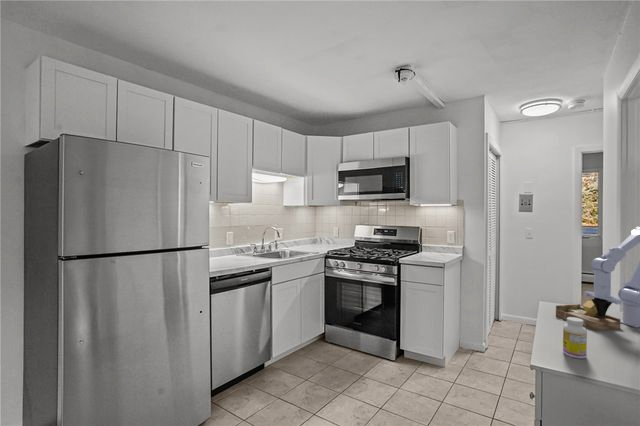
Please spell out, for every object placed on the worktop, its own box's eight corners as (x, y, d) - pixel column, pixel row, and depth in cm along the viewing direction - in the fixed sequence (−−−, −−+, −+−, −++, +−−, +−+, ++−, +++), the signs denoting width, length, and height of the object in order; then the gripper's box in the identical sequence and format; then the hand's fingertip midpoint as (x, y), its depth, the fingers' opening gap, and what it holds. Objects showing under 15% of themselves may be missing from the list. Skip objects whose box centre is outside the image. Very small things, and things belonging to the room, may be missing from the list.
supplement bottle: (563, 349, 122) (564, 314, 122) (586, 354, 118) (587, 318, 118) (562, 355, 117) (562, 319, 117) (586, 361, 113) (586, 323, 113)
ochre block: (586, 312, 155) (592, 306, 156) (594, 314, 151) (600, 309, 152) (582, 305, 155) (588, 300, 155) (590, 308, 151) (596, 302, 151)
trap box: (578, 314, 162) (578, 303, 161) (620, 328, 143) (620, 316, 143) (555, 315, 159) (555, 305, 159) (595, 330, 141) (595, 318, 140)
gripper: (579, 282, 153) (578, 311, 154) (611, 289, 139) (611, 322, 139) (591, 281, 155) (591, 310, 155) (625, 289, 140) (625, 321, 141)
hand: (601, 315), depth 147 cm, fingers closed
